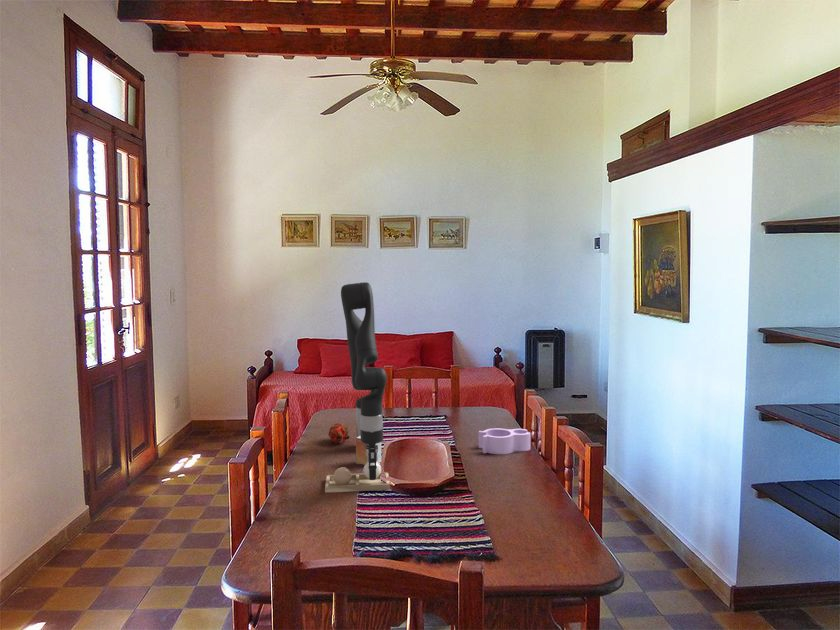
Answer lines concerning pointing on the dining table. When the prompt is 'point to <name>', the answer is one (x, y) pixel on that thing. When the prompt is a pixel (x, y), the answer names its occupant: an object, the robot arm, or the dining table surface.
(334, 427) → the dragon fruit
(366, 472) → the white ball
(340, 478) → the beige ball
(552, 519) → the dining table surface
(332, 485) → the beige divided tray
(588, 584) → the dining table surface
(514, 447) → the lavender double cup holder
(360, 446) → the small box
